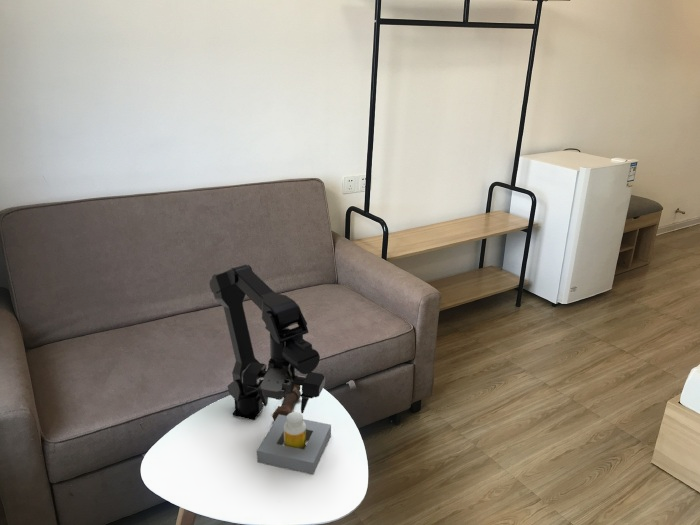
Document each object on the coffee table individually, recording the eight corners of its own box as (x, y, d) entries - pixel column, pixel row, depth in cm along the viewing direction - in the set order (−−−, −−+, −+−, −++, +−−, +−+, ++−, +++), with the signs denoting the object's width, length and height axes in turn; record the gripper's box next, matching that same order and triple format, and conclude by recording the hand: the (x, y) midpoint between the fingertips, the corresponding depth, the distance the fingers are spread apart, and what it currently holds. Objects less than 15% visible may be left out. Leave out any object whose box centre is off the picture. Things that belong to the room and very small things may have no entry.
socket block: (257, 462, 137) (256, 450, 136) (279, 425, 149) (278, 414, 148) (313, 474, 134) (313, 462, 132) (330, 435, 146) (331, 424, 145)
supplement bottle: (281, 443, 143) (281, 412, 139) (302, 439, 145) (302, 408, 141) (287, 458, 138) (286, 426, 135) (308, 453, 140) (308, 421, 136)
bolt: (297, 397, 164) (285, 430, 150) (282, 388, 163) (268, 420, 149) (308, 383, 161) (296, 415, 148) (292, 374, 161) (279, 405, 147)
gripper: (229, 365, 126) (233, 422, 132) (311, 379, 122) (311, 438, 128) (250, 339, 135) (252, 393, 142) (326, 352, 131) (325, 407, 138)
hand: (284, 408), depth 137 cm, fingers open, 9 cm apart
